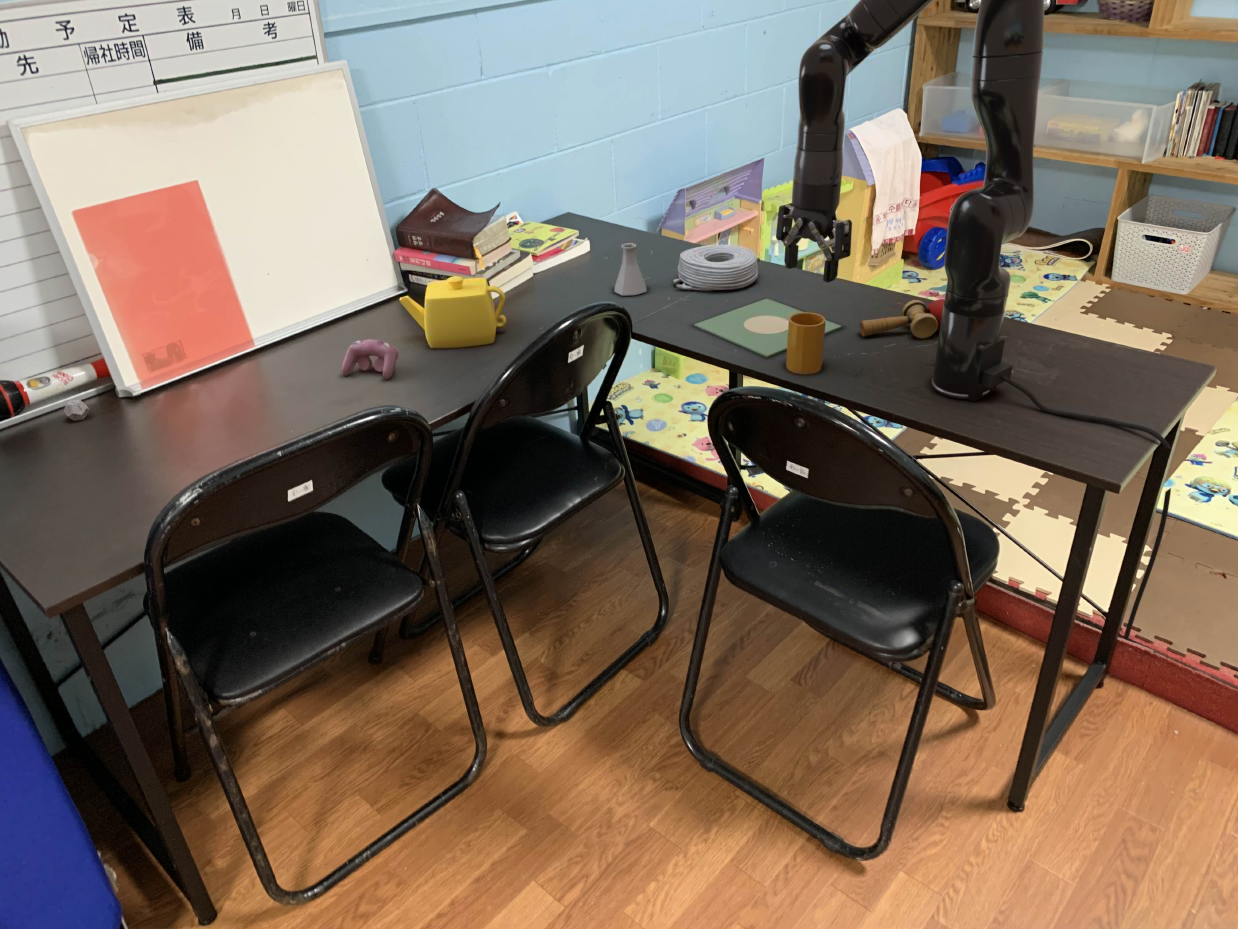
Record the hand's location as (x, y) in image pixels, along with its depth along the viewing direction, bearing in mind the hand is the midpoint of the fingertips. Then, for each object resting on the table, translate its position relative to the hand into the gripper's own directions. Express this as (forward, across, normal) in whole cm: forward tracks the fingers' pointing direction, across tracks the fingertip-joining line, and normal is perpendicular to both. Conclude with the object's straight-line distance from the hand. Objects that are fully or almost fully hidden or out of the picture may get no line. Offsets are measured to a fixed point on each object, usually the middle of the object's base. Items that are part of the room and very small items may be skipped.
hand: (809, 274), depth 155 cm
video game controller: (+18, -50, -60) cm, 80 cm away
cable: (+18, -43, +18) cm, 50 cm away
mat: (+17, -17, +8) cm, 25 cm away
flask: (+18, -51, 0) cm, 54 cm away
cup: (+17, 0, 0) cm, 17 cm away
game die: (+18, -68, -106) cm, 127 cm away
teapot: (+18, -54, -40) cm, 70 cm away
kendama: (+17, +3, +25) cm, 30 cm away
